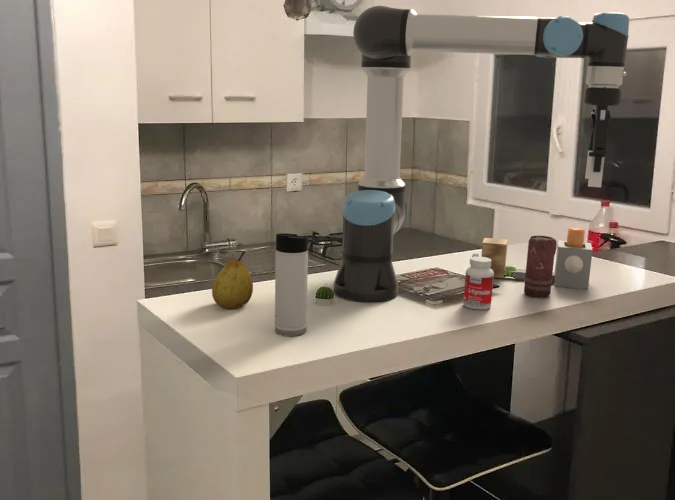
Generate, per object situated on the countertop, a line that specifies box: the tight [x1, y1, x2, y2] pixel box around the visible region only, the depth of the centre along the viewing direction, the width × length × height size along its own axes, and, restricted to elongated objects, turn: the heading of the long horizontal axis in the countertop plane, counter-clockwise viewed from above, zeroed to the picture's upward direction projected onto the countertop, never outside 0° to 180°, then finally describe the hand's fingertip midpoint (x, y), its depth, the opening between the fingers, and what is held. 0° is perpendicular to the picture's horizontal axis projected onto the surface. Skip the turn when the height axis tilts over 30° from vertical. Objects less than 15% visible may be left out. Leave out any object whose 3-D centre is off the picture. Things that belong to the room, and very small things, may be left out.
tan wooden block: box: [480, 237, 509, 279], centre depth 189 cm, size 6×6×9 cm
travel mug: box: [274, 232, 309, 337], centre depth 142 cm, size 6×7×20 cm
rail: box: [471, 253, 555, 284], centre depth 188 cm, size 21×3×5 cm, turn 75°
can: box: [523, 235, 558, 299], centre depth 173 cm, size 6×6×14 cm
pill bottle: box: [462, 256, 495, 311], centre depth 163 cm, size 6×6×11 cm
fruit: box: [211, 251, 254, 310], centre depth 158 cm, size 9×9×12 cm
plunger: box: [566, 227, 586, 248], centre depth 183 cm, size 4×4×6 cm
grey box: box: [553, 239, 593, 290], centre depth 184 cm, size 8×8×10 cm
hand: (592, 182), depth 166 cm, fingers open, 13 cm apart
